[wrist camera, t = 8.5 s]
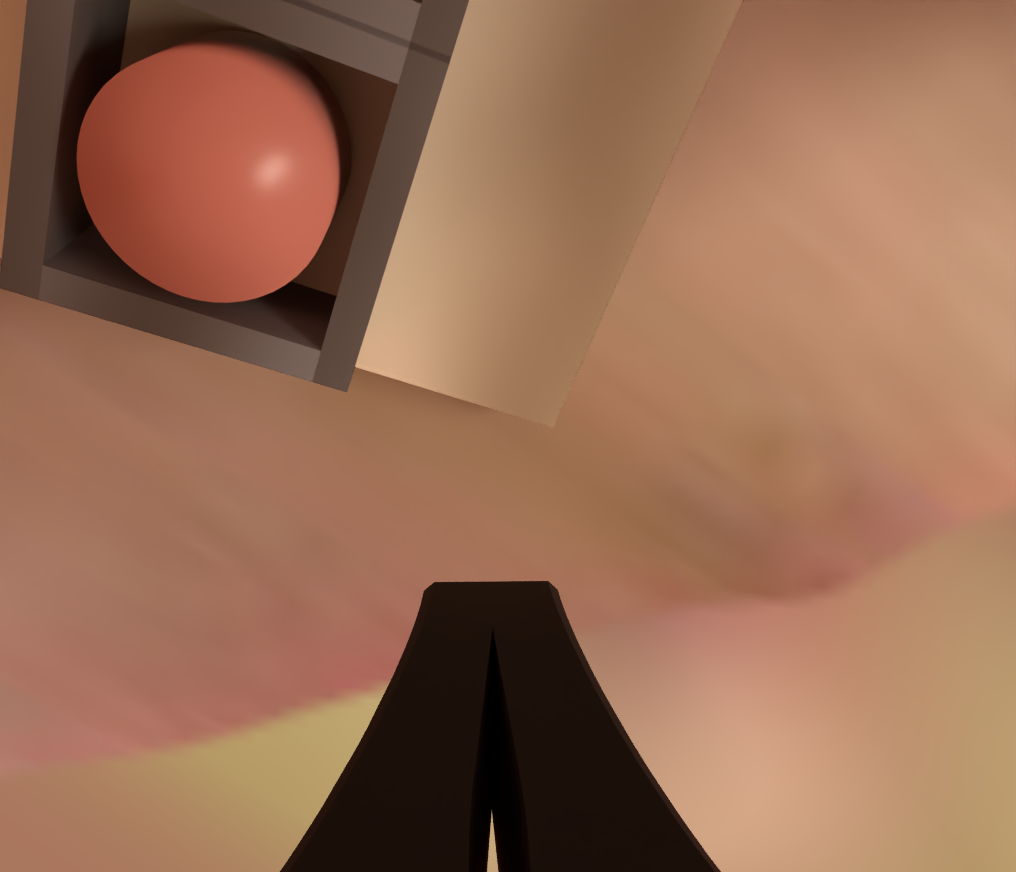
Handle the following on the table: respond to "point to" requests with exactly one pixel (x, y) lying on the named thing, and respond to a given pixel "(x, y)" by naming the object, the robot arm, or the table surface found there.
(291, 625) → the table surface
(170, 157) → the brick button
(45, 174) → the button board
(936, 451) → the table surface
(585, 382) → the table surface
